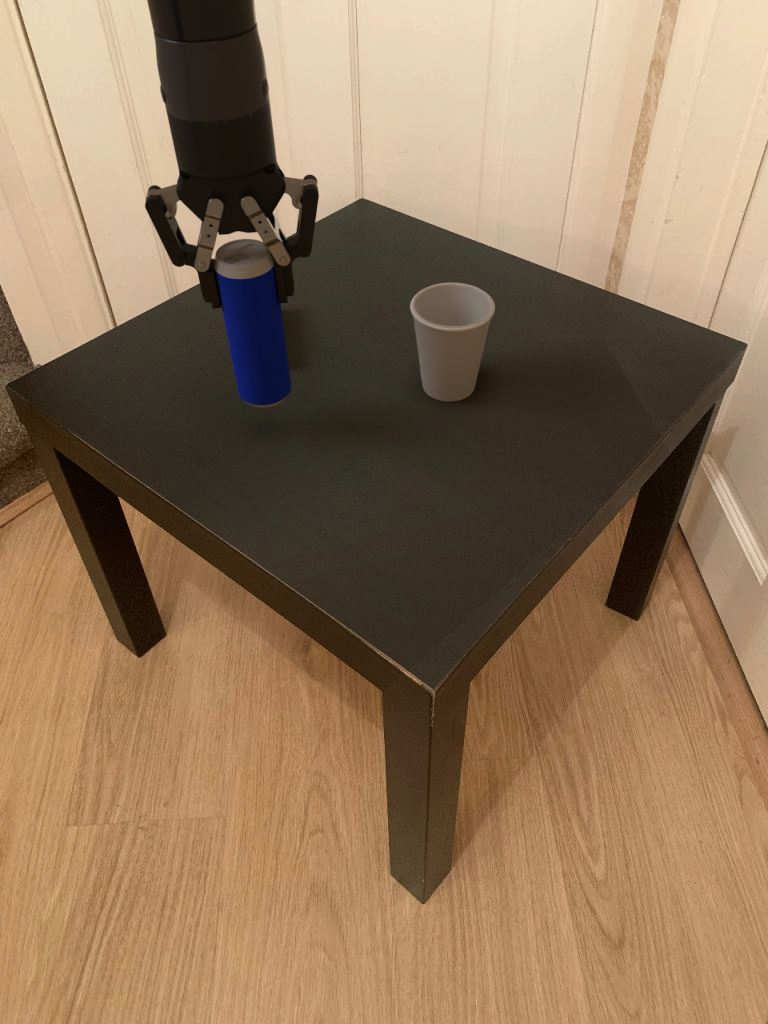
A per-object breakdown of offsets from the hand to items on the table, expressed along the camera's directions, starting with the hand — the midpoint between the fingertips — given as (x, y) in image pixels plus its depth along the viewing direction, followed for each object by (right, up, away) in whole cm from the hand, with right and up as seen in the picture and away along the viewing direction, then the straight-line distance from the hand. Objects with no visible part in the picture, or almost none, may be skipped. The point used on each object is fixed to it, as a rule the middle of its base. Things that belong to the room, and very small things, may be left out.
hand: (250, 300), depth 70 cm
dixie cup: (+19, -5, +16) cm, 25 cm away
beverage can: (0, -7, +8) cm, 11 cm away
